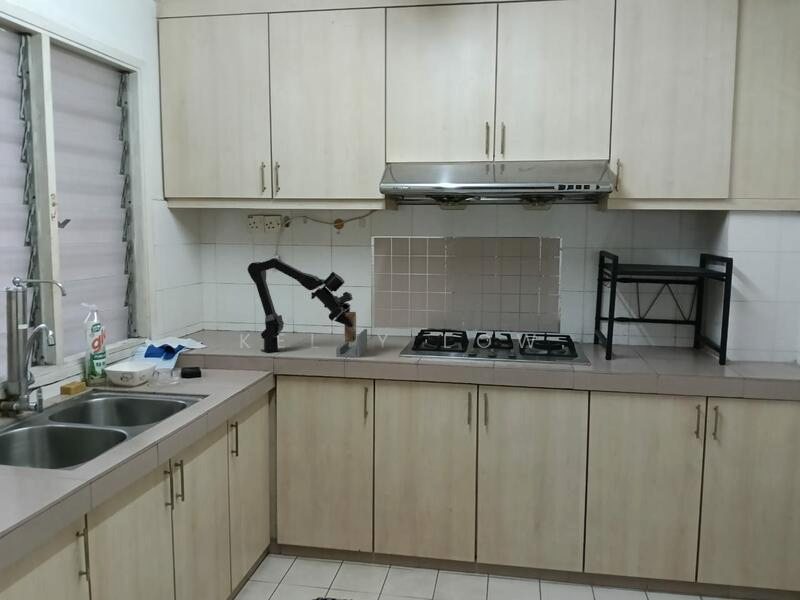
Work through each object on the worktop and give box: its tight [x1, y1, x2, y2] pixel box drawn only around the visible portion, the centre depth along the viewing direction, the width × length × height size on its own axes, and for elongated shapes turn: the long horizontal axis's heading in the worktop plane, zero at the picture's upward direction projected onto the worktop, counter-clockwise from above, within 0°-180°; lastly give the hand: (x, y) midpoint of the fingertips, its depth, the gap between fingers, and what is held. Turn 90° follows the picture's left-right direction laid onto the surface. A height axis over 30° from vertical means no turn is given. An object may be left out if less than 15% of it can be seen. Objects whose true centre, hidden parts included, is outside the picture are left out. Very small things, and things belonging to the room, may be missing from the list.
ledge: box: [335, 328, 368, 358], centre depth 274 cm, size 10×18×9 cm, turn 173°
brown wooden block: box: [344, 311, 357, 343], centre depth 274 cm, size 4×6×12 cm
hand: (353, 325), depth 273 cm, fingers closed on brown wooden block, 6 cm apart
